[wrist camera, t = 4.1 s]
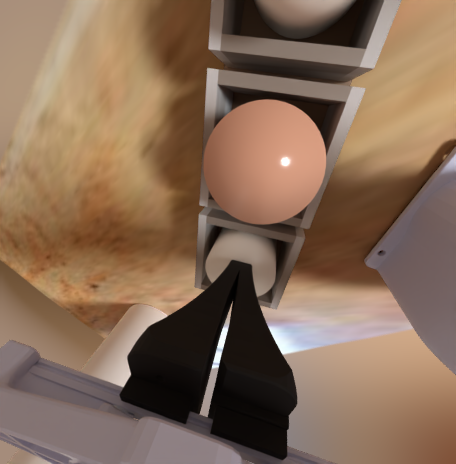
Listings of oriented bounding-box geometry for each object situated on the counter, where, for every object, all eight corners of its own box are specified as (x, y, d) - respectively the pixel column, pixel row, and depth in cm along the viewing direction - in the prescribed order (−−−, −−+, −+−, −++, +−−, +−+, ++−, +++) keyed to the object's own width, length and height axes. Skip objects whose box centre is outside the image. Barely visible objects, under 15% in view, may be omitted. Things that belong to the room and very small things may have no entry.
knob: (269, 268, 17) (266, 305, 14) (217, 255, 18) (203, 288, 14) (283, 222, 15) (284, 253, 11) (223, 209, 15) (208, 235, 12)
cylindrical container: (164, 305, 25) (-423, 1263, 4) (181, 340, 28) (-100, 977, 7) (119, 302, 27) (-425, 934, 6) (140, 335, 31) (-173, 824, 9)
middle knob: (295, 201, 12) (301, 235, 9) (221, 185, 12) (200, 212, 9) (325, 112, 10) (349, 110, 6) (232, 98, 10) (207, 90, 7)
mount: (279, 272, 19) (278, 312, 15) (209, 254, 19) (192, 288, 16) (421, -127, 8) (559, -364, 4) (248, -127, 8) (222, -321, 5)
